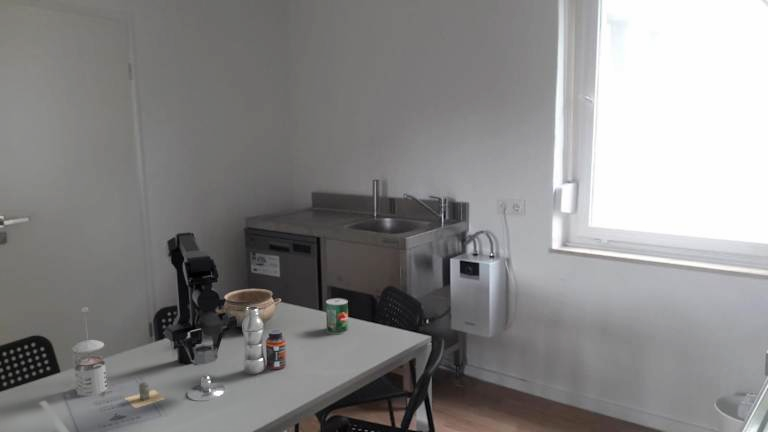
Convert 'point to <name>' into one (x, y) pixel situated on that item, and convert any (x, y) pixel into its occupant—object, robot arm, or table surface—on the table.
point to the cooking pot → (250, 304)
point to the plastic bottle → (253, 342)
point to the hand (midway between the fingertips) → (203, 356)
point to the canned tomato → (337, 315)
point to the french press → (89, 367)
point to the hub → (206, 390)
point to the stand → (144, 396)
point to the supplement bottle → (275, 350)
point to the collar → (204, 354)
